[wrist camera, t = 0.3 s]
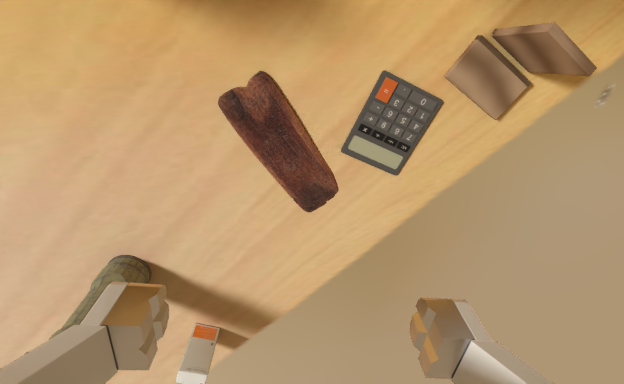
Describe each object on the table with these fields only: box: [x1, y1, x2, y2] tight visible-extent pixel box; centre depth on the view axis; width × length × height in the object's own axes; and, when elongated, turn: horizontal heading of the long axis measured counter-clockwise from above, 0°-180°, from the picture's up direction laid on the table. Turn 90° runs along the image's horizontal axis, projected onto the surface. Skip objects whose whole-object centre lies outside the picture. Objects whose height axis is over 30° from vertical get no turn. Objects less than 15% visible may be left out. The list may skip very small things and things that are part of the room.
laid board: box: [444, 35, 531, 120], centre depth 53 cm, size 7×12×1 cm, turn 55°
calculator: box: [341, 71, 443, 175], centre depth 56 cm, size 12×1×15 cm
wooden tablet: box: [218, 71, 338, 212], centre depth 57 cm, size 26×2×10 cm
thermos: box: [27, 255, 151, 353], centre depth 53 cm, size 9×12×35 cm
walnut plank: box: [492, 22, 597, 76], centre depth 46 cm, size 12×9×1 cm
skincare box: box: [176, 323, 220, 384], centre depth 72 cm, size 6×4×12 cm
